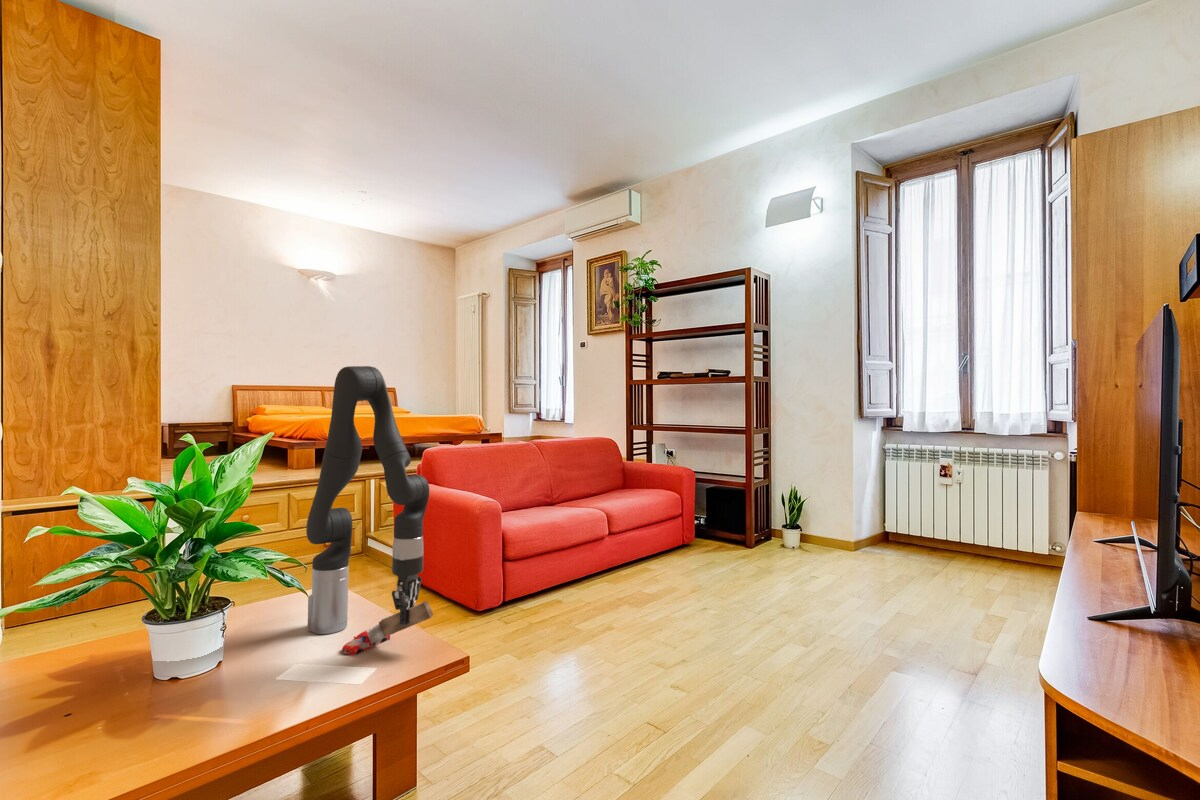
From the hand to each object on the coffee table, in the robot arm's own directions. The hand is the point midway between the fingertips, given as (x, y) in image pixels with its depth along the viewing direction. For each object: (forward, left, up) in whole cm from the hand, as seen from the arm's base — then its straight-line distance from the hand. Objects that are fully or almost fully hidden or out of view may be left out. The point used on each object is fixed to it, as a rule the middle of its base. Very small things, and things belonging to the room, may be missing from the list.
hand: (406, 621), depth 147 cm
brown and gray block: (0, 0, -1) cm, 1 cm away
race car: (-11, +1, -8) cm, 14 cm away
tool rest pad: (-12, -15, -7) cm, 21 cm away
